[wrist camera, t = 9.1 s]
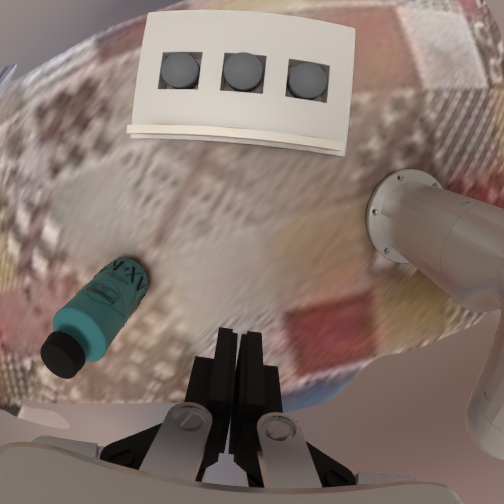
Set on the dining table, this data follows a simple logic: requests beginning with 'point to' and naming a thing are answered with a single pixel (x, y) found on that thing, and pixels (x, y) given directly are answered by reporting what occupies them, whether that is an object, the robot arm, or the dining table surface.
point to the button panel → (242, 103)
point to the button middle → (243, 71)
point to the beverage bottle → (94, 317)
